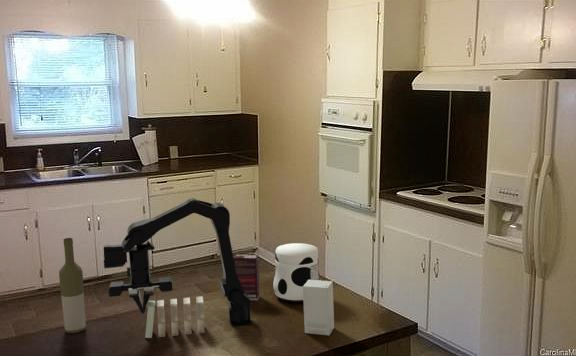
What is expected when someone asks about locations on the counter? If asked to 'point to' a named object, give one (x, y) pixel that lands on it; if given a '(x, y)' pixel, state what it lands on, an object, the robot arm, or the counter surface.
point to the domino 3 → (174, 316)
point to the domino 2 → (161, 318)
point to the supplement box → (248, 274)
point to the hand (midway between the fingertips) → (143, 313)
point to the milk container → (294, 270)
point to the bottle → (72, 291)
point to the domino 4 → (187, 315)
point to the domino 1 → (150, 319)
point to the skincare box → (318, 307)
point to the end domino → (200, 314)
